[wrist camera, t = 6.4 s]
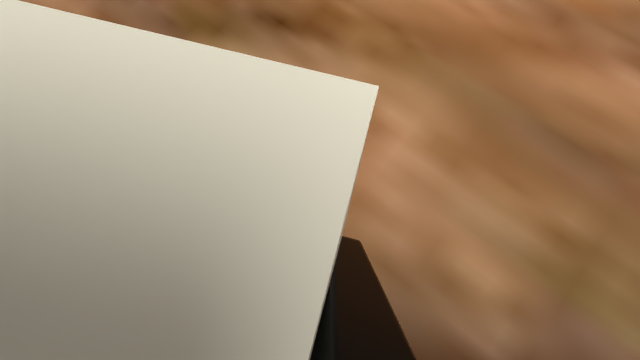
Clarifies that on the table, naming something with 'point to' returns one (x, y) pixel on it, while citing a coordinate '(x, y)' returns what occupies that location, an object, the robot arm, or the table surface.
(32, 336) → the post
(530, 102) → the table surface
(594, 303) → the table surface
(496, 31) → the table surface
